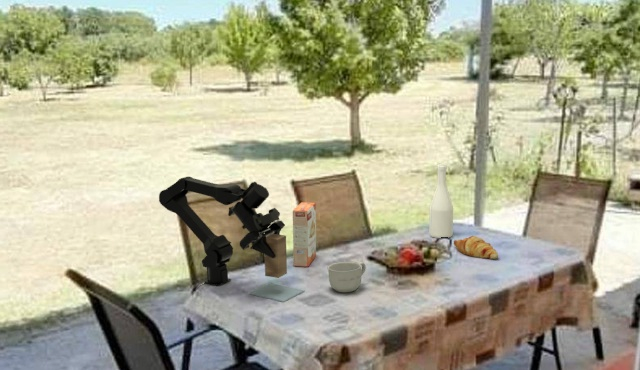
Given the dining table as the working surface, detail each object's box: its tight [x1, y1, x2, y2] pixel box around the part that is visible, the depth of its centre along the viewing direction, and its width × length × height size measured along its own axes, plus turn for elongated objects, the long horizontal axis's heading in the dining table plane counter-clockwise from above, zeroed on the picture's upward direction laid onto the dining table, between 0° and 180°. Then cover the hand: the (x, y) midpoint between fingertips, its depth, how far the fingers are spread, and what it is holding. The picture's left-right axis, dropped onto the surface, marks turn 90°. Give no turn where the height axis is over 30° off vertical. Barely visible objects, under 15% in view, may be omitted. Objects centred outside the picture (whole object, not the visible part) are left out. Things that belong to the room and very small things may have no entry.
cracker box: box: [292, 201, 317, 268], centre depth 239 cm, size 14×6×21 cm, turn 168°
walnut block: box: [264, 234, 288, 279], centre depth 207 cm, size 5×5×12 cm
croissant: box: [453, 235, 499, 260], centre depth 245 cm, size 21×10×8 cm, turn 37°
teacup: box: [327, 261, 367, 293], centre depth 211 cm, size 14×11×8 cm
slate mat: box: [248, 282, 306, 303], centre depth 209 cm, size 14×11×1 cm
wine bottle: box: [428, 163, 454, 239], centre depth 268 cm, size 10×10×30 cm
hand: (279, 255), depth 206 cm, fingers closed on walnut block, 5 cm apart
